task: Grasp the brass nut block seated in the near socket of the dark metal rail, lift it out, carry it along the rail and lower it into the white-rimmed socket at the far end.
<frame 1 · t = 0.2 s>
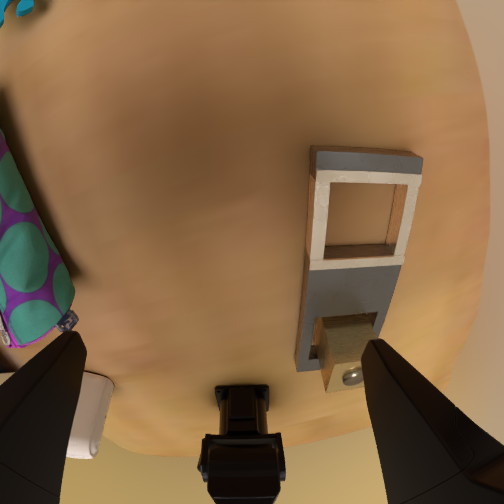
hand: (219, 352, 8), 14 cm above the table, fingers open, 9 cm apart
pencil case: (18, 200, 20), on the table
nut: (337, 323, 28), resting in rail
photo printer: (82, 375, 33), on the table
rail: (347, 275, 25), on the table
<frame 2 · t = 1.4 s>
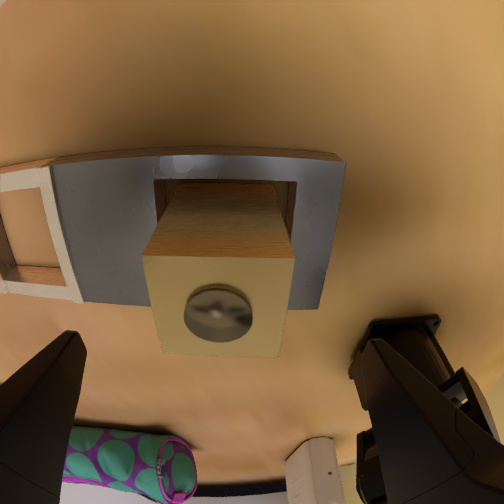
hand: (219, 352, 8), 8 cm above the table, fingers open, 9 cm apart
pencil case: (114, 432, 29), on the table
nut: (225, 224, 15), resting in rail
photo printer: (306, 449, 32), on the table
rail: (114, 224, 15), on the table
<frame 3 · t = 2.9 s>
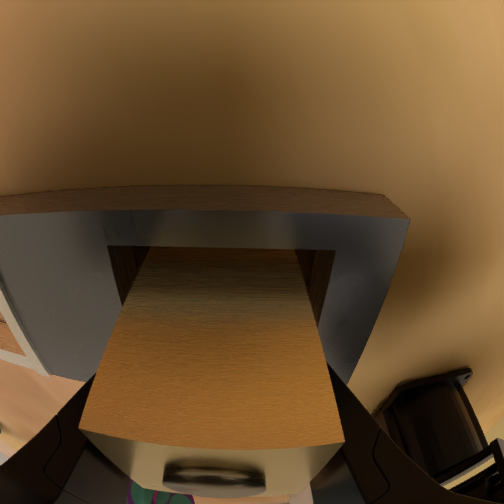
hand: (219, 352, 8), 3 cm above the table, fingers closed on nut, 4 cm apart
pencil case: (108, 467, 25), on the table
nut: (223, 294, 10), resting in rail, touching gripper
photo printer: (312, 484, 28), on the table
rail: (74, 287, 10), on the table
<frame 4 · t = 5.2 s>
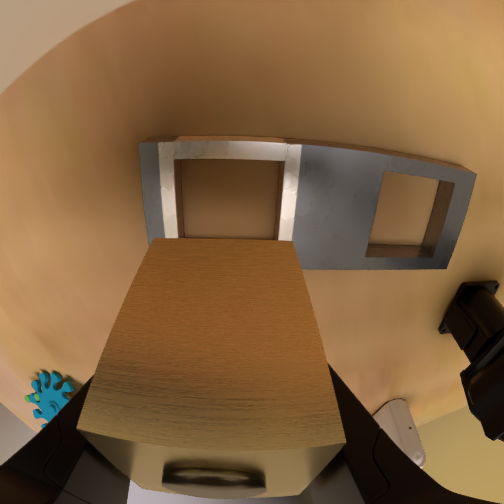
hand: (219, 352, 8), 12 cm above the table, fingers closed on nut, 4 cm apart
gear: (62, 385, 31), on the table
nut: (223, 294, 10), point 9 cm above the table, touching gripper
photo printer: (380, 414, 36), on the table
rail: (322, 202, 19), on the table
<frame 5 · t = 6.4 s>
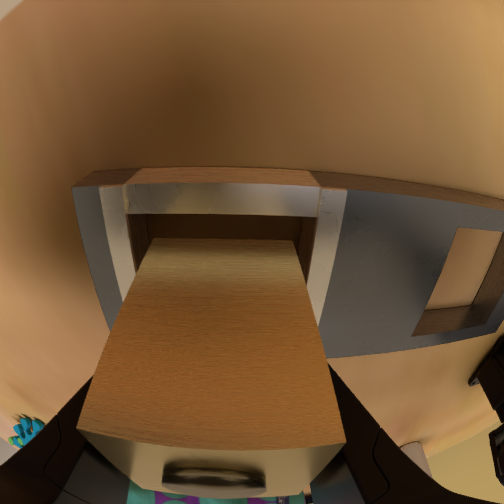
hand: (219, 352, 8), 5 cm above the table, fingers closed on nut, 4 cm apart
pencil case: (206, 468, 27), on the table
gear: (46, 429, 24), on the table
nut: (223, 294, 10), point 2 cm above the table, touching gripper
photo printer: (392, 455, 30), on the table
rail: (362, 265, 12), on the table
when the fingers open (4 cm above the table, at t = 7.3 s): nut drops 2 cm, resting in rail.
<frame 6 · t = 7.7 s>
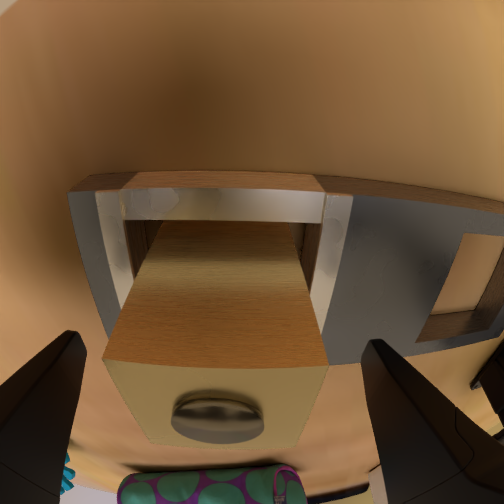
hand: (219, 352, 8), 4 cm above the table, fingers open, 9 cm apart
pencil case: (207, 471, 27), on the table
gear: (46, 432, 24), on the table
nut: (225, 268, 12), resting in rail
photo printer: (393, 458, 30), on the table
rail: (366, 271, 12), on the table
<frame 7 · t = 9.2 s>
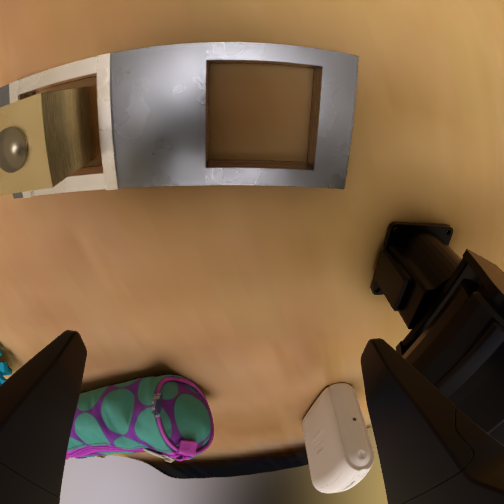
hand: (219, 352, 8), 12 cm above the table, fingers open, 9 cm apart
pencil case: (125, 391, 31), on the table
nut: (72, 124, 15), resting in rail
photo printer: (325, 402, 33), on the table
rail: (157, 114, 15), on the table
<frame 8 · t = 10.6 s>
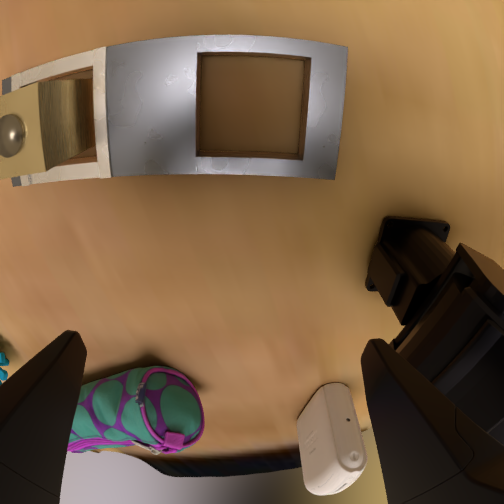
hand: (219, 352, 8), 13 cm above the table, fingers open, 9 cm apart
pencil case: (120, 384, 31), on the table
nut: (71, 115, 15), resting in rail
photo printer: (320, 402, 33), on the table
rail: (151, 105, 16), on the table
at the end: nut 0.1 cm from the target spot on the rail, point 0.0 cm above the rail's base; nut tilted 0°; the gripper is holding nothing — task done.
